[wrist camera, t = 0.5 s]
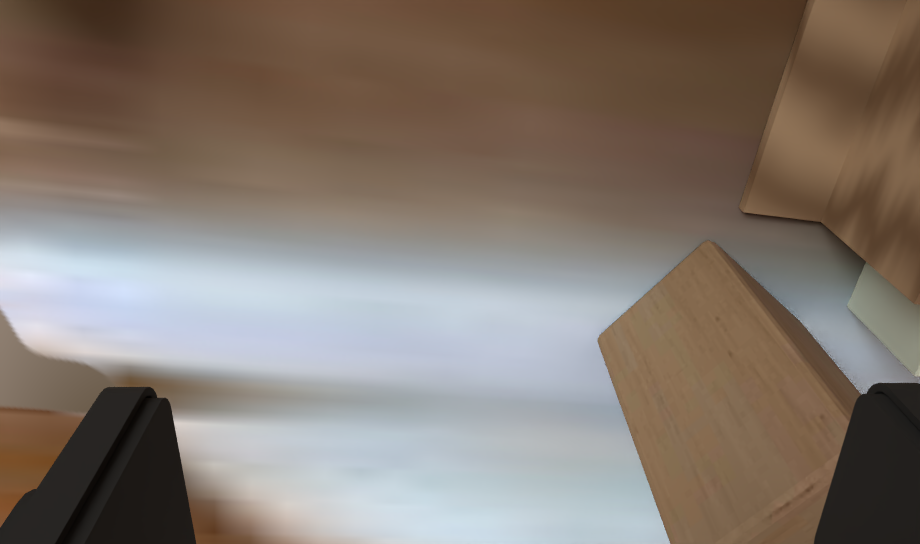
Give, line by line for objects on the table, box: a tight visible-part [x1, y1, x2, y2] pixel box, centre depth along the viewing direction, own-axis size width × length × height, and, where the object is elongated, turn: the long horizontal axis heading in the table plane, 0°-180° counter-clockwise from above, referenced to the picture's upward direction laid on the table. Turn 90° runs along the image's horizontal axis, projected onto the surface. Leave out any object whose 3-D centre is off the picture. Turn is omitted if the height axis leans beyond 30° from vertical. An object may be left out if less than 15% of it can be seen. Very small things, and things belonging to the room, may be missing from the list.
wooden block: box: [598, 240, 861, 544], centre depth 42 cm, size 10×10×20 cm
